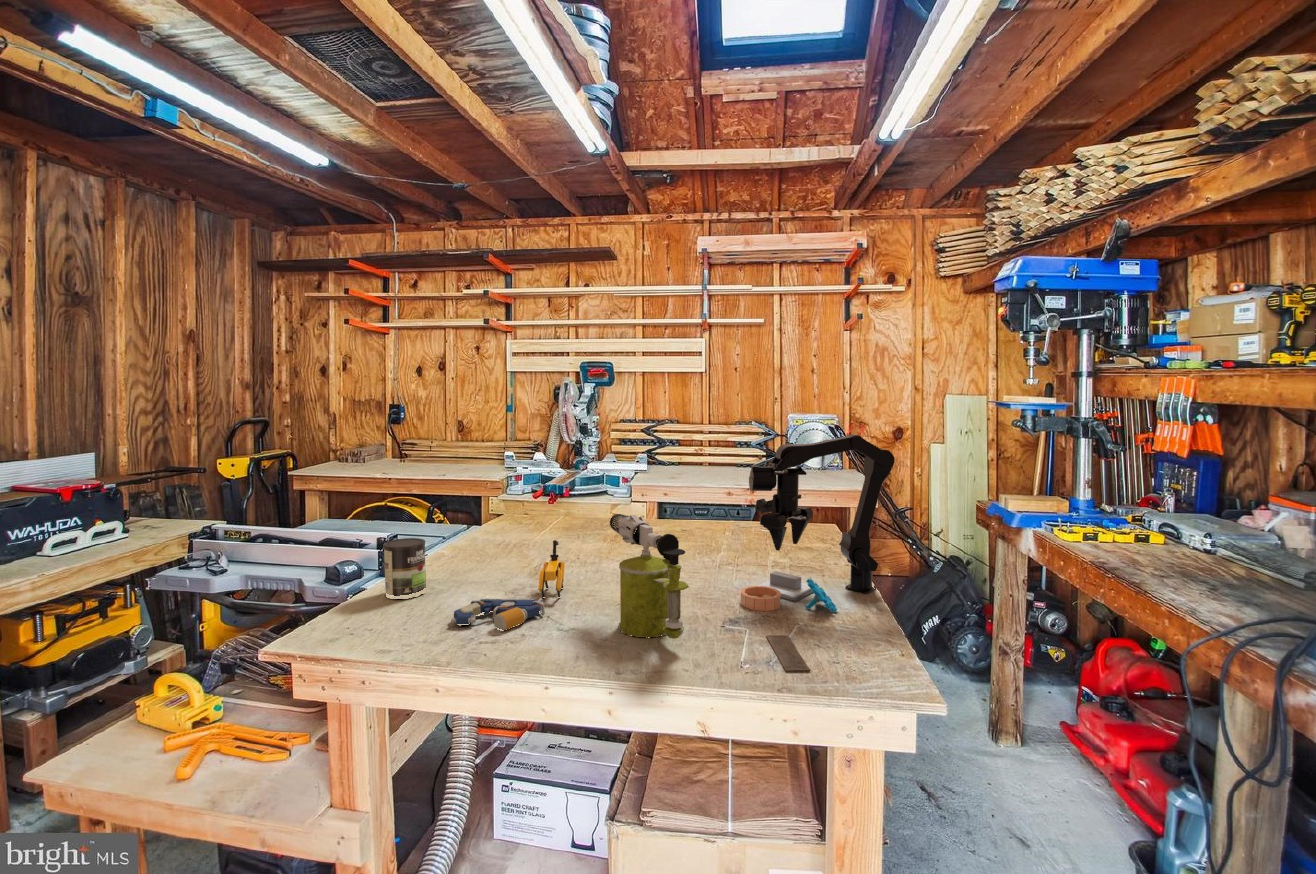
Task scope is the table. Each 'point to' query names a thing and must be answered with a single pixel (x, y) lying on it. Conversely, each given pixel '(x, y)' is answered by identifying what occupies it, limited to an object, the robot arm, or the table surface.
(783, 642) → the wooden plank
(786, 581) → the lid
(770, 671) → the table surface
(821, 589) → the gear
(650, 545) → the blowtorch
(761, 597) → the dish
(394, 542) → the coffee can
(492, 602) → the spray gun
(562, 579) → the robot dog
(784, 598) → the mat
